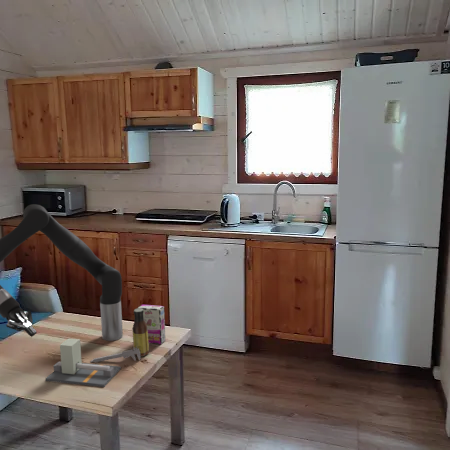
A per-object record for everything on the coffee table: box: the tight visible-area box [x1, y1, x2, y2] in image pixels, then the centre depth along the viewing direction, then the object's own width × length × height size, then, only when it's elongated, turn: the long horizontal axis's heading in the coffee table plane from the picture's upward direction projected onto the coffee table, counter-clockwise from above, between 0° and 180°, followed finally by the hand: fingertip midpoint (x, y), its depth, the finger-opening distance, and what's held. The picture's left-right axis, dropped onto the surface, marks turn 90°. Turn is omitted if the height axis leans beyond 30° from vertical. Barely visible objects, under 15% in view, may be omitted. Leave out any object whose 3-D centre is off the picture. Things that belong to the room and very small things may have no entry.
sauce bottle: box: [131, 307, 150, 357], centre depth 189 cm, size 6×6×20 cm
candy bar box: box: [137, 304, 166, 345], centre depth 202 cm, size 11×5×16 cm, turn 74°
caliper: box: [89, 346, 141, 363], centre depth 184 cm, size 20×1×6 cm, turn 93°
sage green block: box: [59, 338, 83, 374], centre depth 173 cm, size 6×5×12 cm
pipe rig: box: [45, 361, 122, 388], centre depth 173 cm, size 14×24×4 cm, turn 78°
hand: (34, 334), depth 175 cm, fingers closed
